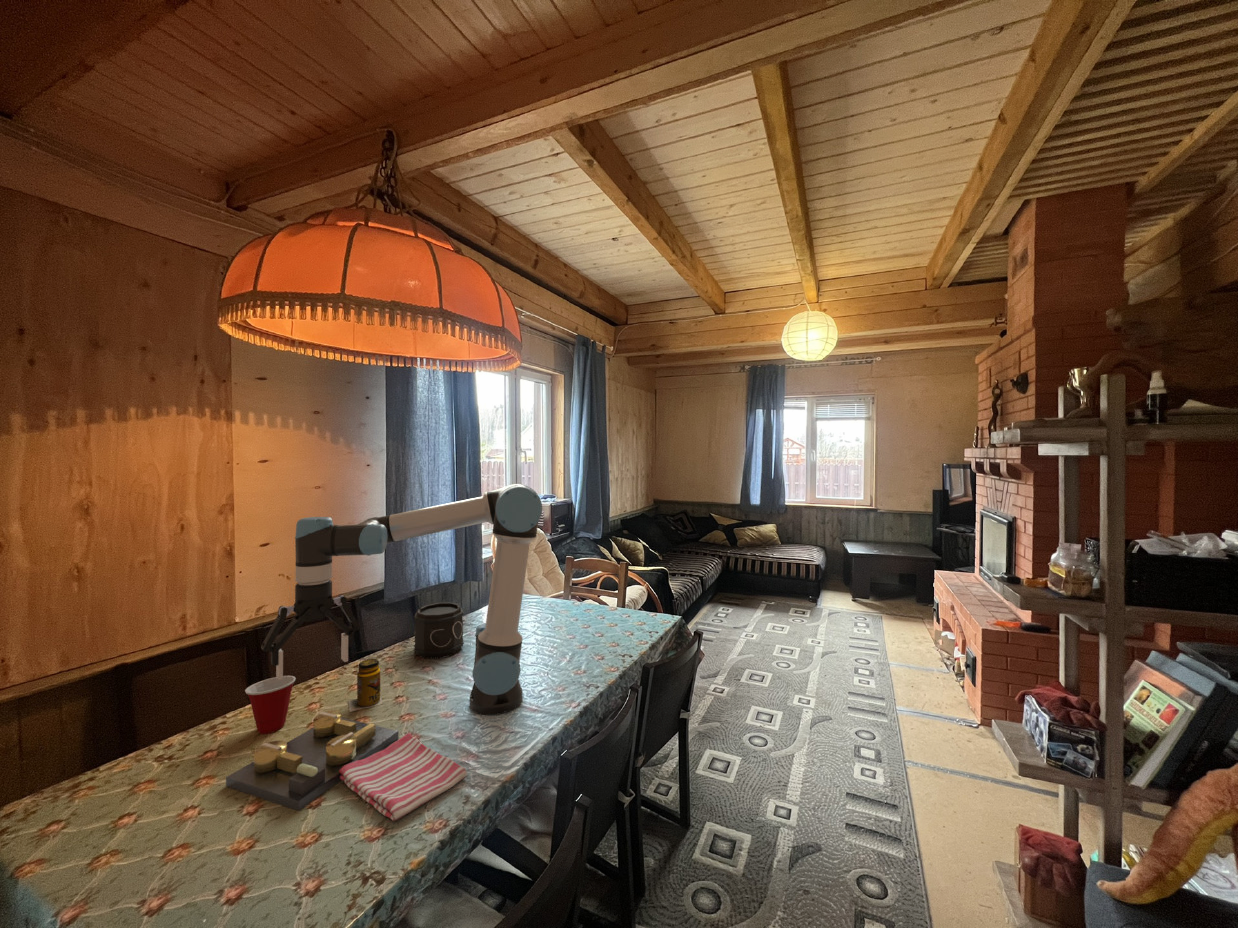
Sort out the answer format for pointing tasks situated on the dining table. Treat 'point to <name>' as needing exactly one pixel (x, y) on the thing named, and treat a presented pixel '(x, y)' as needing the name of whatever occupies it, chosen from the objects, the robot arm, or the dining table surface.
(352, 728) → the knob
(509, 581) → the robot arm
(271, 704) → the plastic cup
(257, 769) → the knob
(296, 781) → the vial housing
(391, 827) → the dining table surface
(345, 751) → the knob
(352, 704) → the condiment
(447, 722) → the dining table surface
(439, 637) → the dark lidded canister
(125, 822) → the dining table surface
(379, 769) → the dish towel
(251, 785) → the levelling plate
